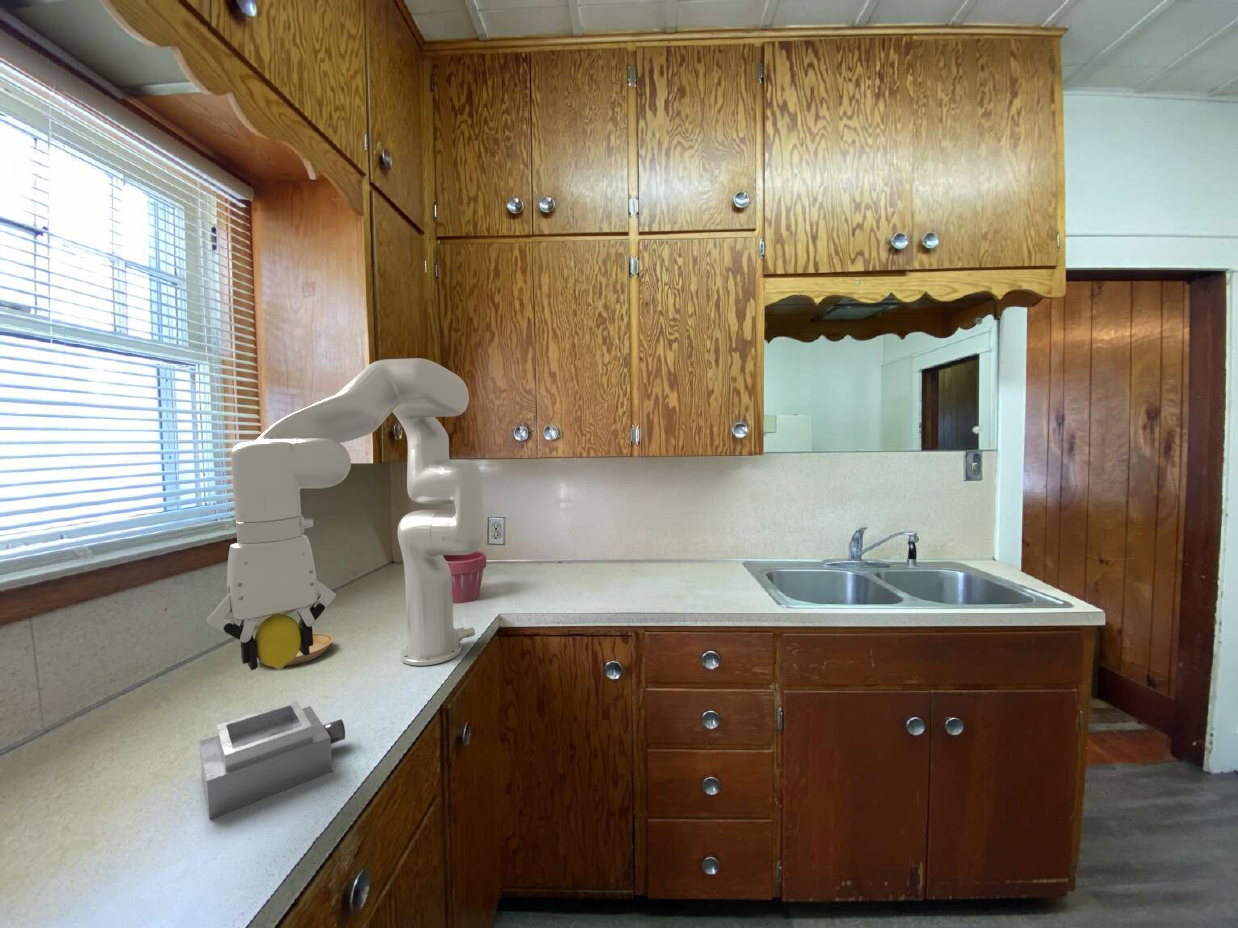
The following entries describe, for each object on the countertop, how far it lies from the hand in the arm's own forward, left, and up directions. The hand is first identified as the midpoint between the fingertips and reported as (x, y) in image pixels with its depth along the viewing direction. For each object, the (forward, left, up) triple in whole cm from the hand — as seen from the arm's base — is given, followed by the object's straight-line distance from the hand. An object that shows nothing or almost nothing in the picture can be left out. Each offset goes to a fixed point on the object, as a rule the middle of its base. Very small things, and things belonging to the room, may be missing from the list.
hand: (279, 658), depth 74 cm
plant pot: (-55, -60, -17) cm, 83 cm away
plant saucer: (-10, -48, -18) cm, 52 cm away
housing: (0, -3, -17) cm, 17 cm away
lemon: (0, 0, -2) cm, 2 cm away
